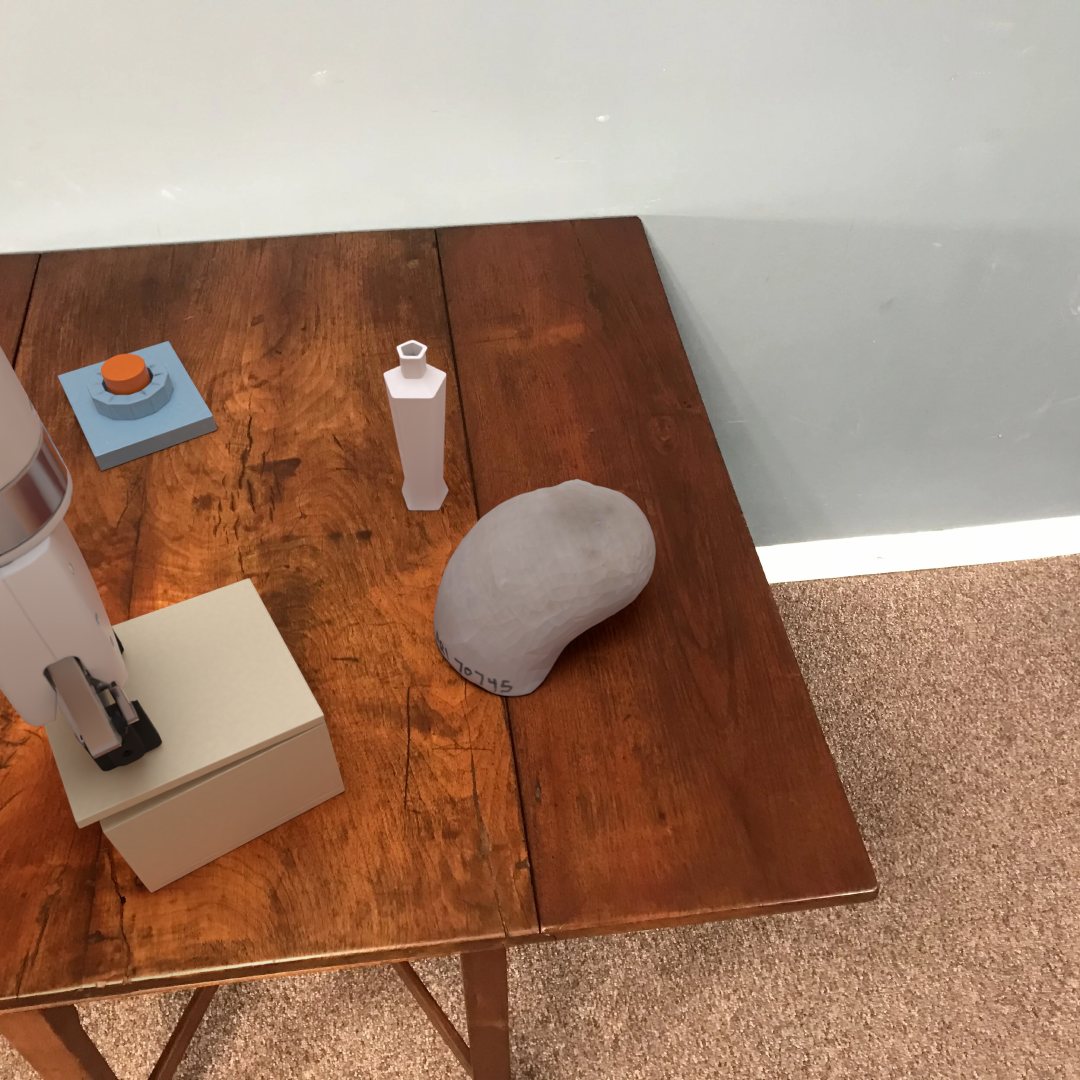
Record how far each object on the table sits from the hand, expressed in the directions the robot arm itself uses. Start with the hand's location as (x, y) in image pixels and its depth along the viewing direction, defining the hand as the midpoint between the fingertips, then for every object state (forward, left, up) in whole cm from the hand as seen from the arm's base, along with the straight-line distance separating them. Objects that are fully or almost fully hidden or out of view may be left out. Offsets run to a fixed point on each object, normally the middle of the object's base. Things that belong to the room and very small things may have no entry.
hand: (113, 705), depth 52 cm
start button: (+9, +37, -8) cm, 39 cm away
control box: (+9, +37, -11) cm, 40 cm away
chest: (+3, 0, -11) cm, 11 cm away
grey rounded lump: (+28, 0, -11) cm, 31 cm away
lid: (+3, 0, -1) cm, 3 cm away
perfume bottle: (+26, +15, -11) cm, 32 cm away
